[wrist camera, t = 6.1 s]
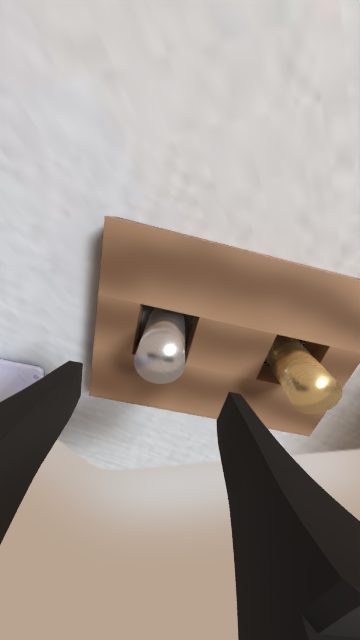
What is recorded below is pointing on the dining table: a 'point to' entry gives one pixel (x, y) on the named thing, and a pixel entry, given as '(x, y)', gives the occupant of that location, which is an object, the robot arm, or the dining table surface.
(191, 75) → the dining table surface
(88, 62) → the dining table surface
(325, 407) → the brass pin
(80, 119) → the dining table surface
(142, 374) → the steel pin
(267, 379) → the pin board
